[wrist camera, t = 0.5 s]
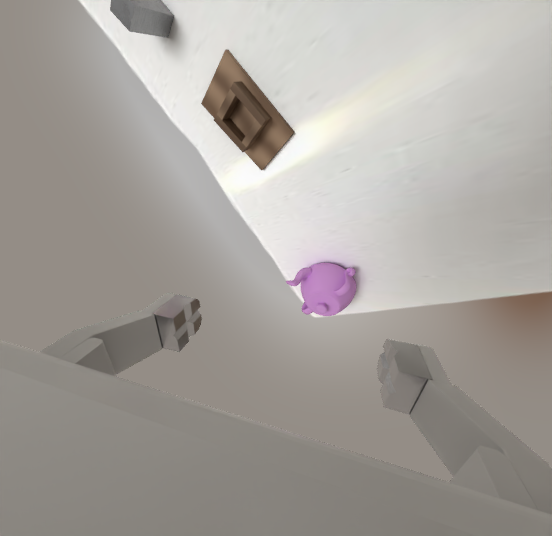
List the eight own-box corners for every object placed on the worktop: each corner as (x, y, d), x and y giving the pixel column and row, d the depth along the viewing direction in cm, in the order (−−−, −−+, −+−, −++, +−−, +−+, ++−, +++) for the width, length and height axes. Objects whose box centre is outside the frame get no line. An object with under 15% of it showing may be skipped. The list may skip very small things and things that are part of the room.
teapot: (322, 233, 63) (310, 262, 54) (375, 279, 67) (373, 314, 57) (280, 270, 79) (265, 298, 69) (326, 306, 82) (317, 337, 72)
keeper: (228, 49, 45) (216, 48, 41) (294, 132, 50) (288, 136, 46) (203, 103, 53) (192, 105, 49) (263, 169, 58) (255, 174, 54)
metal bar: (157, -4, 43) (113, -19, 36) (174, 15, 44) (134, 4, 37) (152, 19, 46) (110, 9, 39) (168, 37, 47) (129, 31, 40)
